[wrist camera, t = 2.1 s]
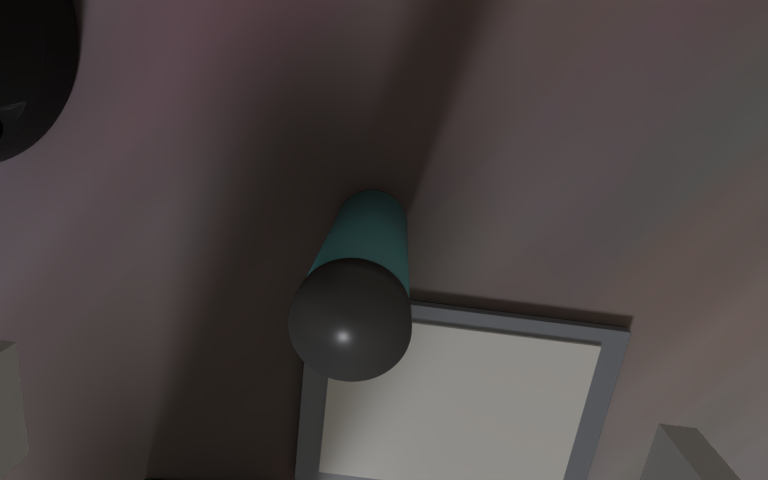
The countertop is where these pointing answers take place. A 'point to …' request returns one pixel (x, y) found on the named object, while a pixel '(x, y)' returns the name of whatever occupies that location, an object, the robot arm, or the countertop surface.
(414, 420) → the writing board
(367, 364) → the teal and grey cylinder
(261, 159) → the countertop surface
